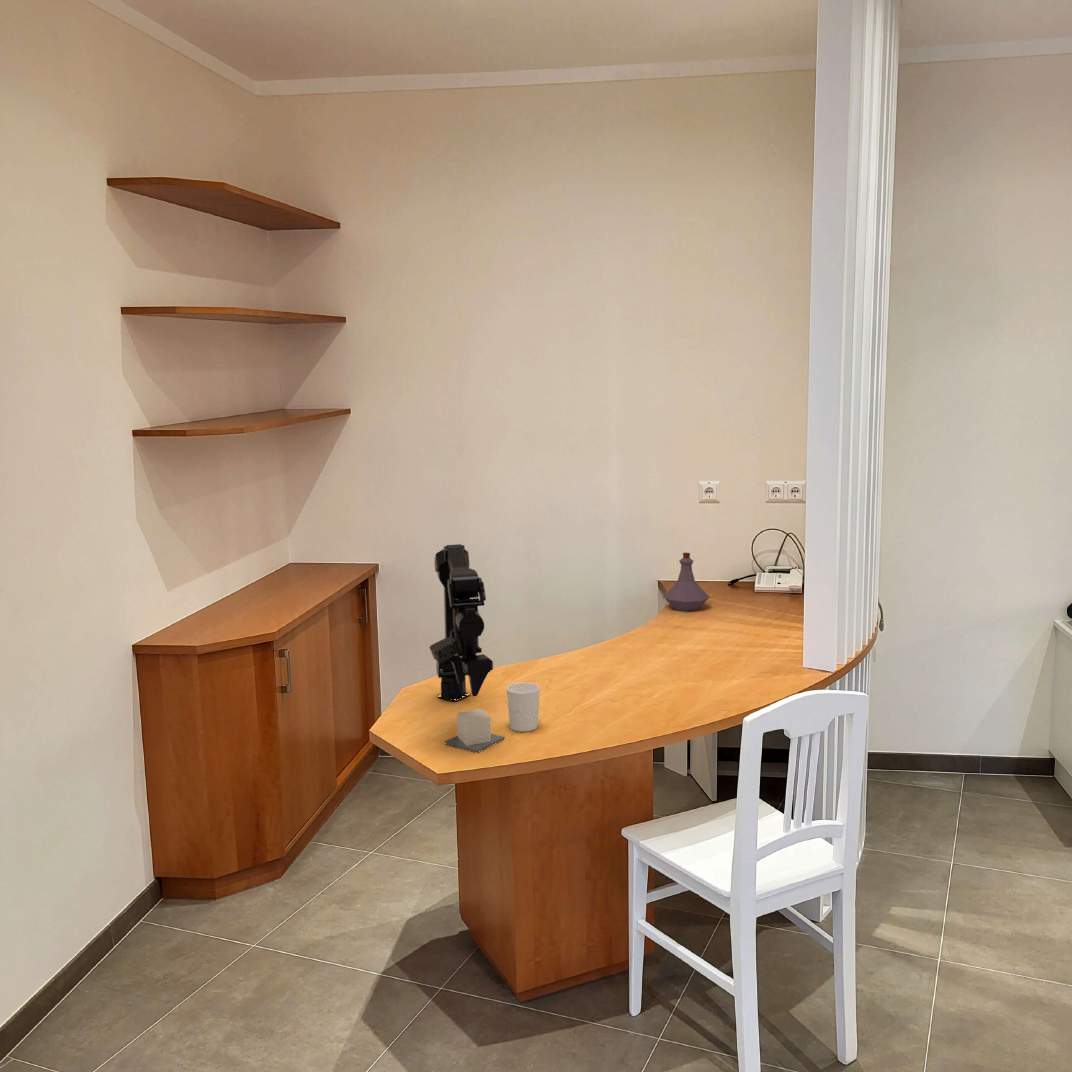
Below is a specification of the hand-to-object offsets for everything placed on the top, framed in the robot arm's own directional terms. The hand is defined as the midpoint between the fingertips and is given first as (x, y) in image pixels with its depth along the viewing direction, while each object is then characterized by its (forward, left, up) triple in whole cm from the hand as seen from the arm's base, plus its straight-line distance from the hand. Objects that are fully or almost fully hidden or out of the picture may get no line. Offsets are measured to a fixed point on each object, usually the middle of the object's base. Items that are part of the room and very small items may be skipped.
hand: (467, 689), depth 234 cm
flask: (-139, -14, -12) cm, 140 cm away
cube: (+2, +4, -11) cm, 12 cm away
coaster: (+2, +4, -11) cm, 12 cm away
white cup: (-12, +8, -12) cm, 18 cm away
